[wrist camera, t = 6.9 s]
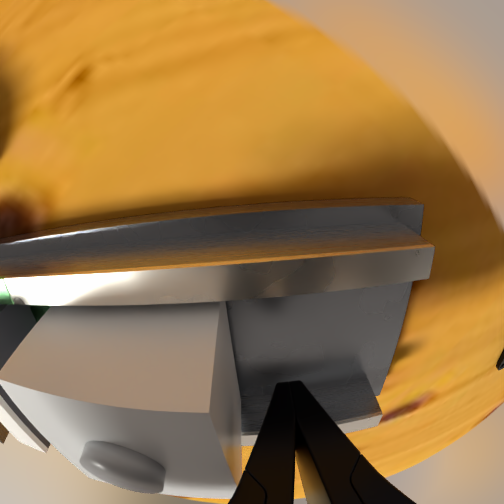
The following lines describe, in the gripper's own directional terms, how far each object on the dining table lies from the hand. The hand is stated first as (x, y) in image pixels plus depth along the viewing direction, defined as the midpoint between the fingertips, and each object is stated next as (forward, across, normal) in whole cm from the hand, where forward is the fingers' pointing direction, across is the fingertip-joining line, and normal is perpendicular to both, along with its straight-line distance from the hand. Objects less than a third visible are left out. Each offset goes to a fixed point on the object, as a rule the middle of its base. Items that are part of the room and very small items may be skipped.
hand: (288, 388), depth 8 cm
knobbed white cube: (+2, +5, 0) cm, 5 cm away
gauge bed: (+3, +7, 0) cm, 8 cm away
